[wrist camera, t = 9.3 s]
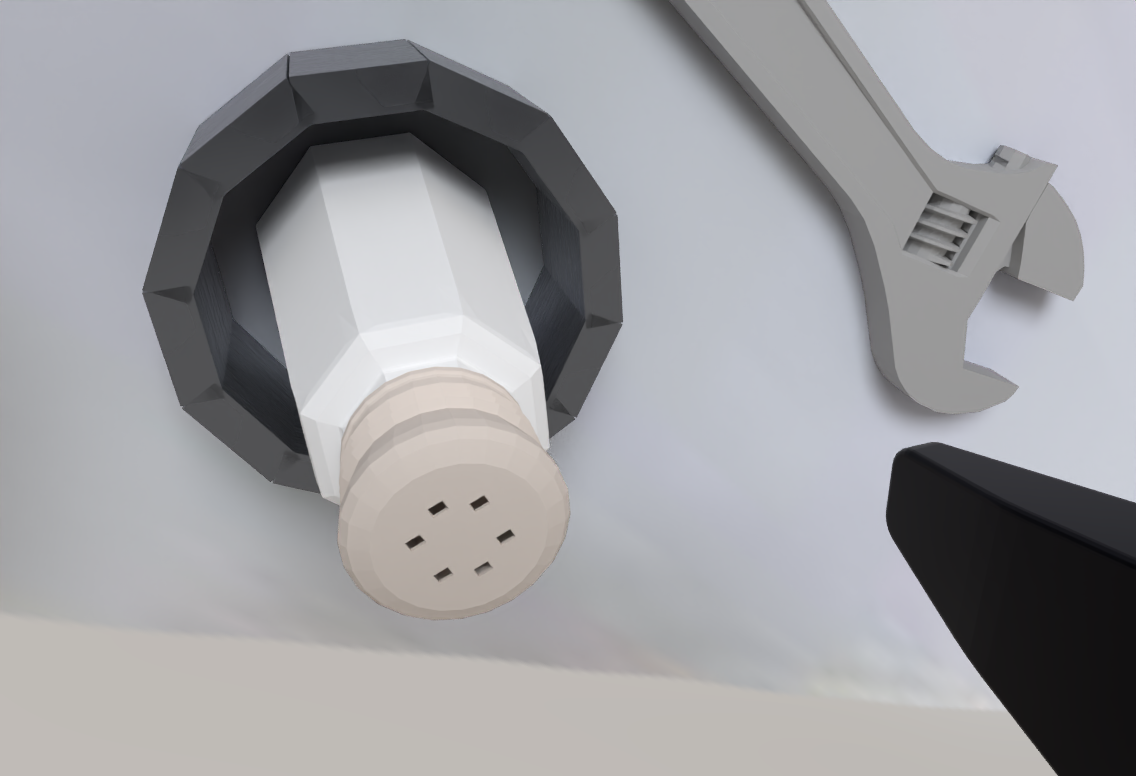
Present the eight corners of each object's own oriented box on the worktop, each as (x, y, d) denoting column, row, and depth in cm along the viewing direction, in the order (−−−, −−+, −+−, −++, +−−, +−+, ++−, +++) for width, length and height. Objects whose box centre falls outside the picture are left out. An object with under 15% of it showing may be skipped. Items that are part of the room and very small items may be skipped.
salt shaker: (200, 211, 18) (97, 507, 9) (421, 78, 18) (555, 232, 9) (347, 398, 21) (390, 773, 12) (539, 282, 21) (737, 564, 12)
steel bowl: (236, 455, 21) (226, 542, 18) (116, 72, 17) (77, 102, 14) (585, 384, 23) (629, 452, 20) (557, 21, 18) (608, 38, 15)
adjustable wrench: (270, -450, 14) (267, -497, 13) (552, -770, 14) (585, -859, 12) (912, 419, 27) (949, 448, 25) (1077, 278, 26) (1126, 298, 25)
